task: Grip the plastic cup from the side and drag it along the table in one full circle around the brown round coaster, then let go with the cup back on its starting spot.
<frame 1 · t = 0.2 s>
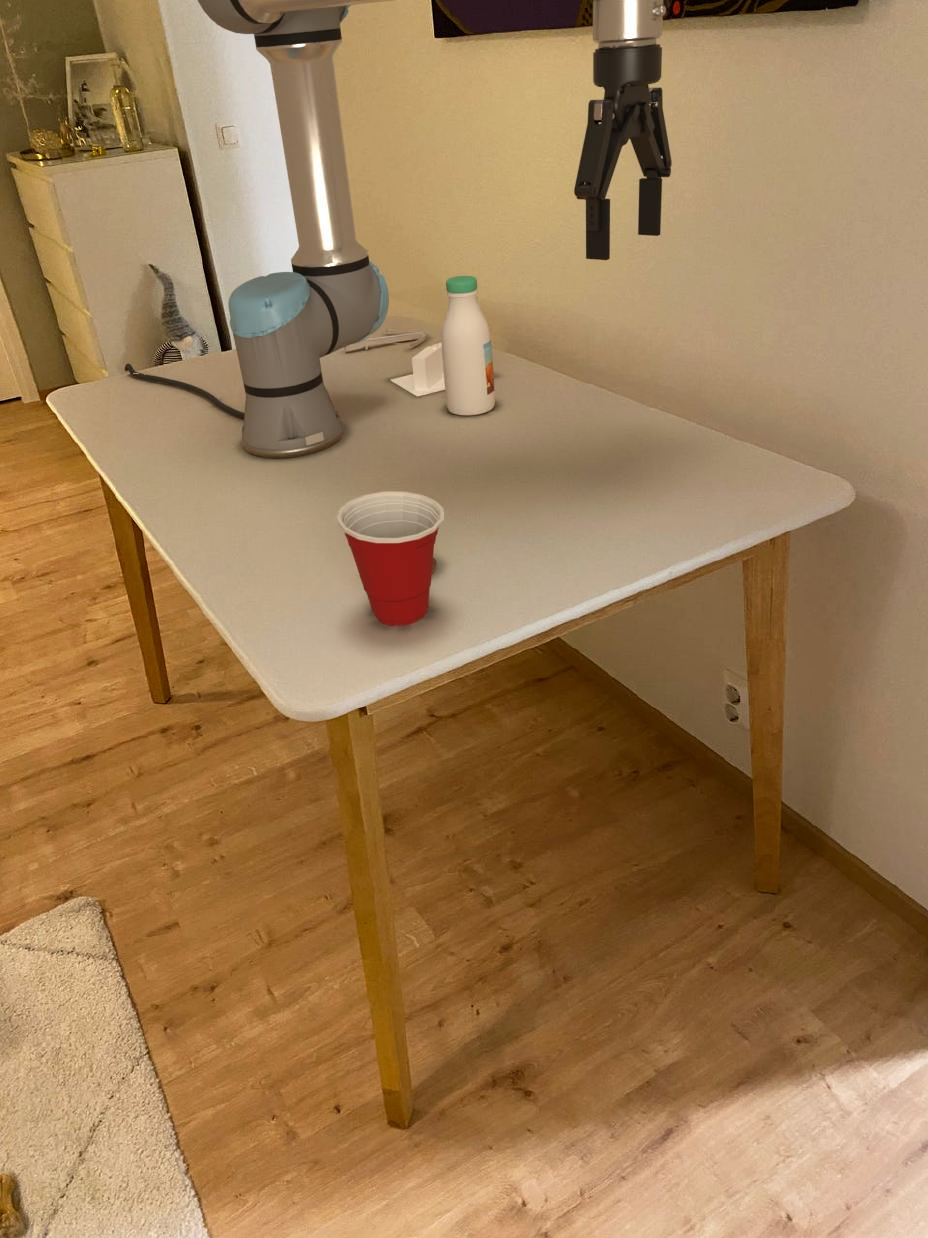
hand: (624, 246, 119), 28 cm above the table, tool pointing down, fingers open, 13 cm apart
napkin holder: (441, 379, 169), on the table
milk bottle: (471, 409, 156), on the table
plastic cup: (403, 613, 104), on the table
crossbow: (385, 346, 188), on the table
brown round coaster: (414, 568, 112), on the table
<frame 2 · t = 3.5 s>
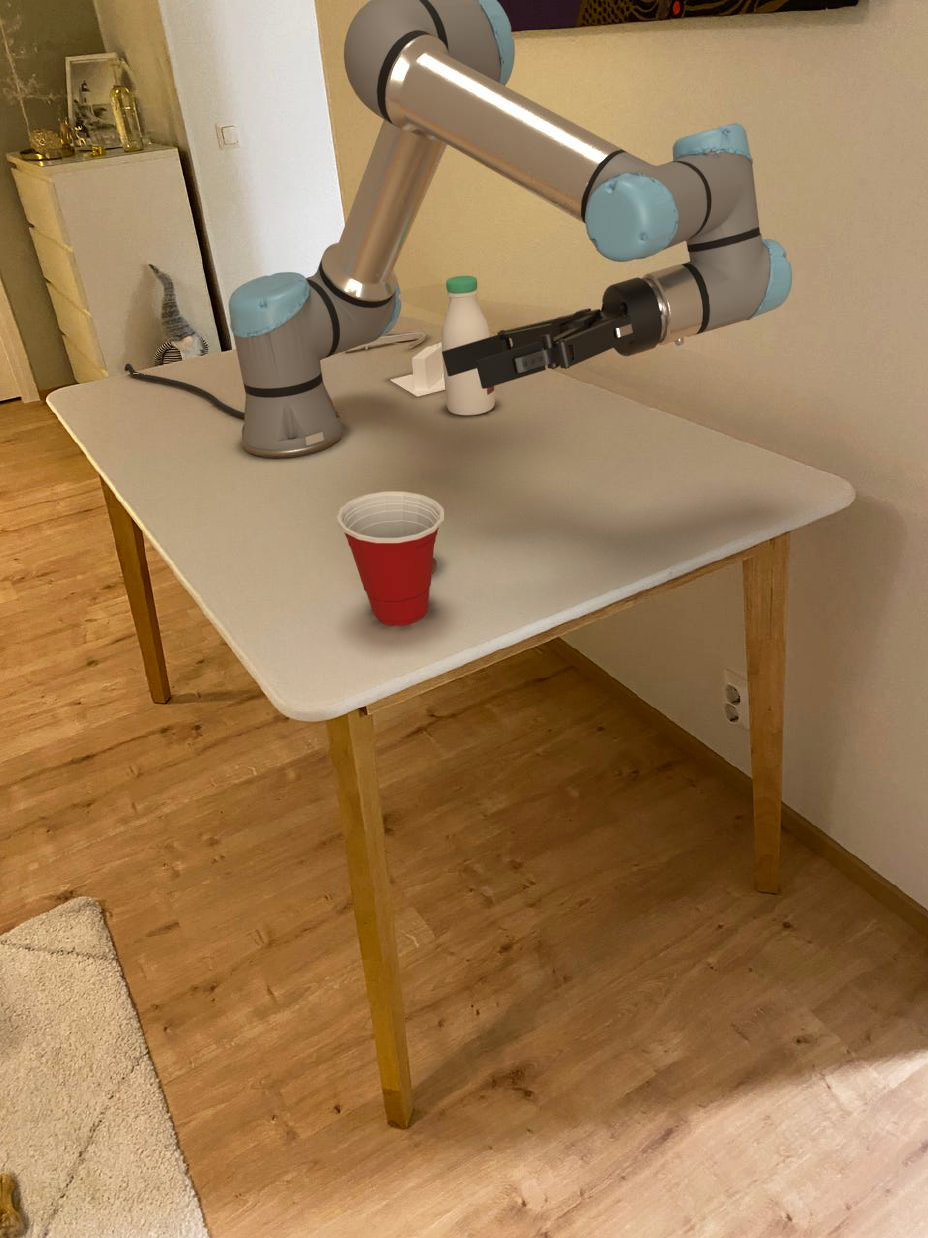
hand: (461, 369, 100), 23 cm above the table, tool horizontal, fingers open, 13 cm apart
nothing on the table moved.
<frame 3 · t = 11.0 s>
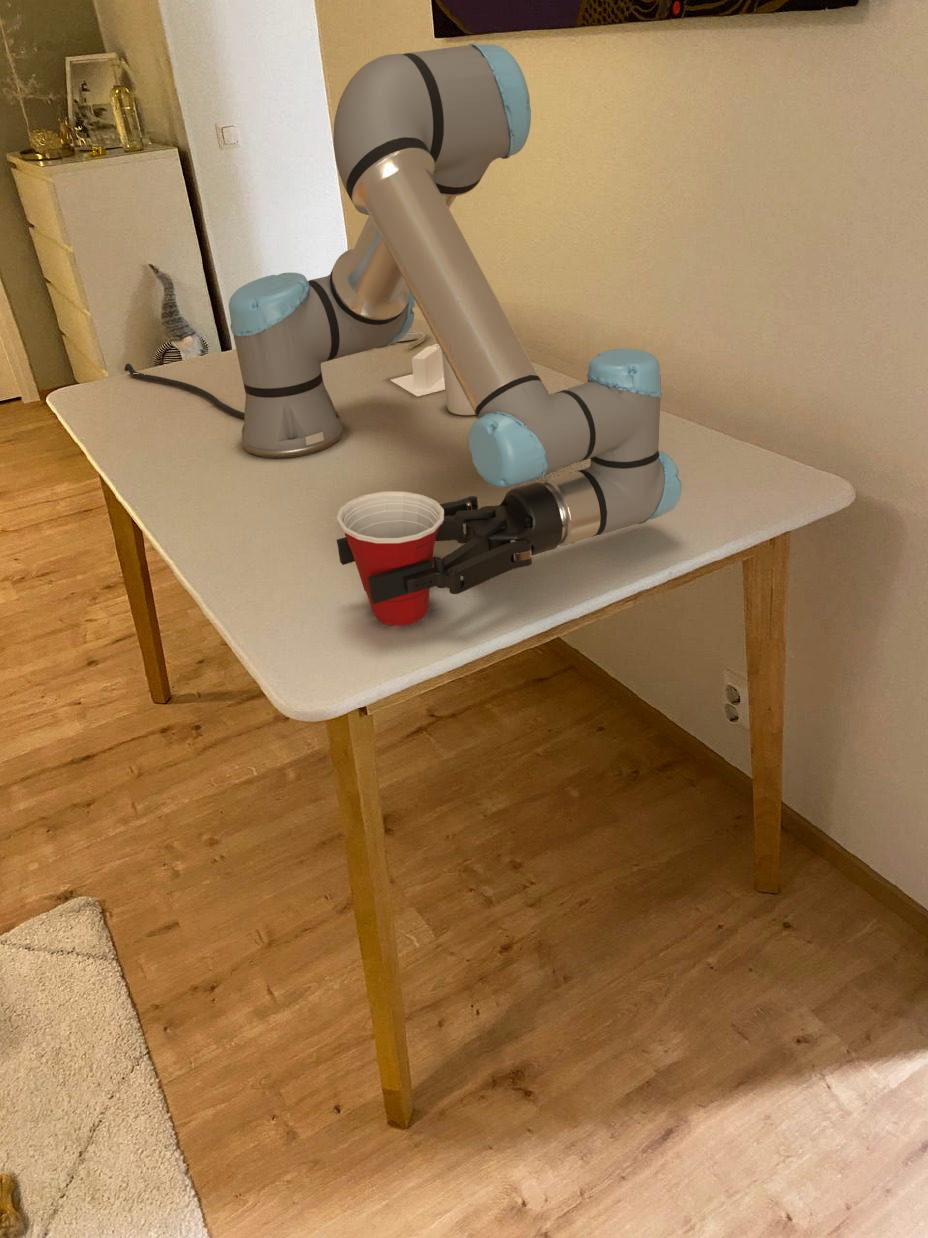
hand: (354, 570, 99), 6 cm above the table, tool horizontal, fingers closed on plastic cup, 9 cm apart
plastic cup: (403, 613, 104), on the table, touching gripper
everything else where it was.
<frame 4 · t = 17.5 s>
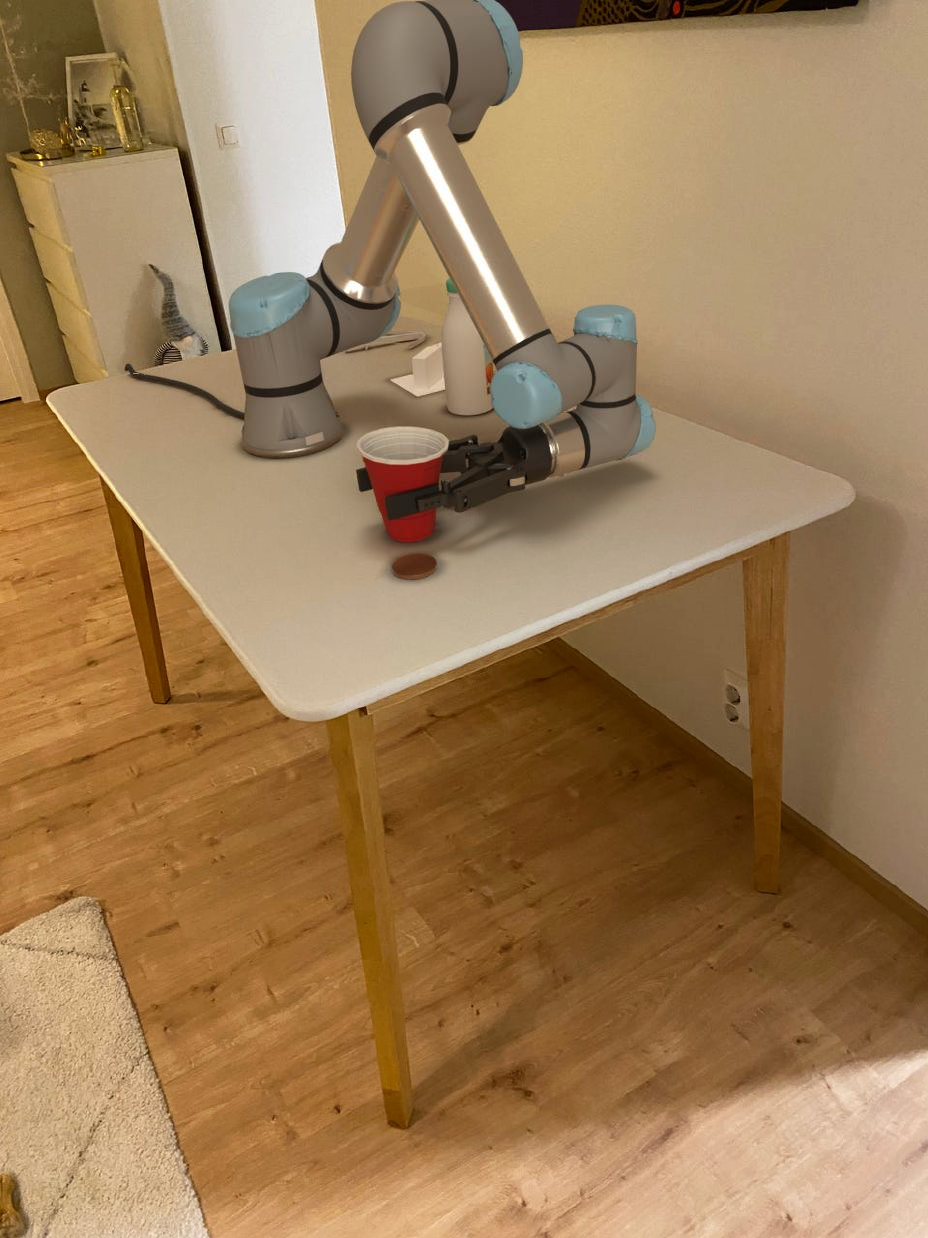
hand: (372, 494, 115), 6 cm above the table, tool horizontal, fingers closed on plastic cup, 9 cm apart
plastic cup: (413, 533, 120), on the table, touching gripper
everything else where it was.
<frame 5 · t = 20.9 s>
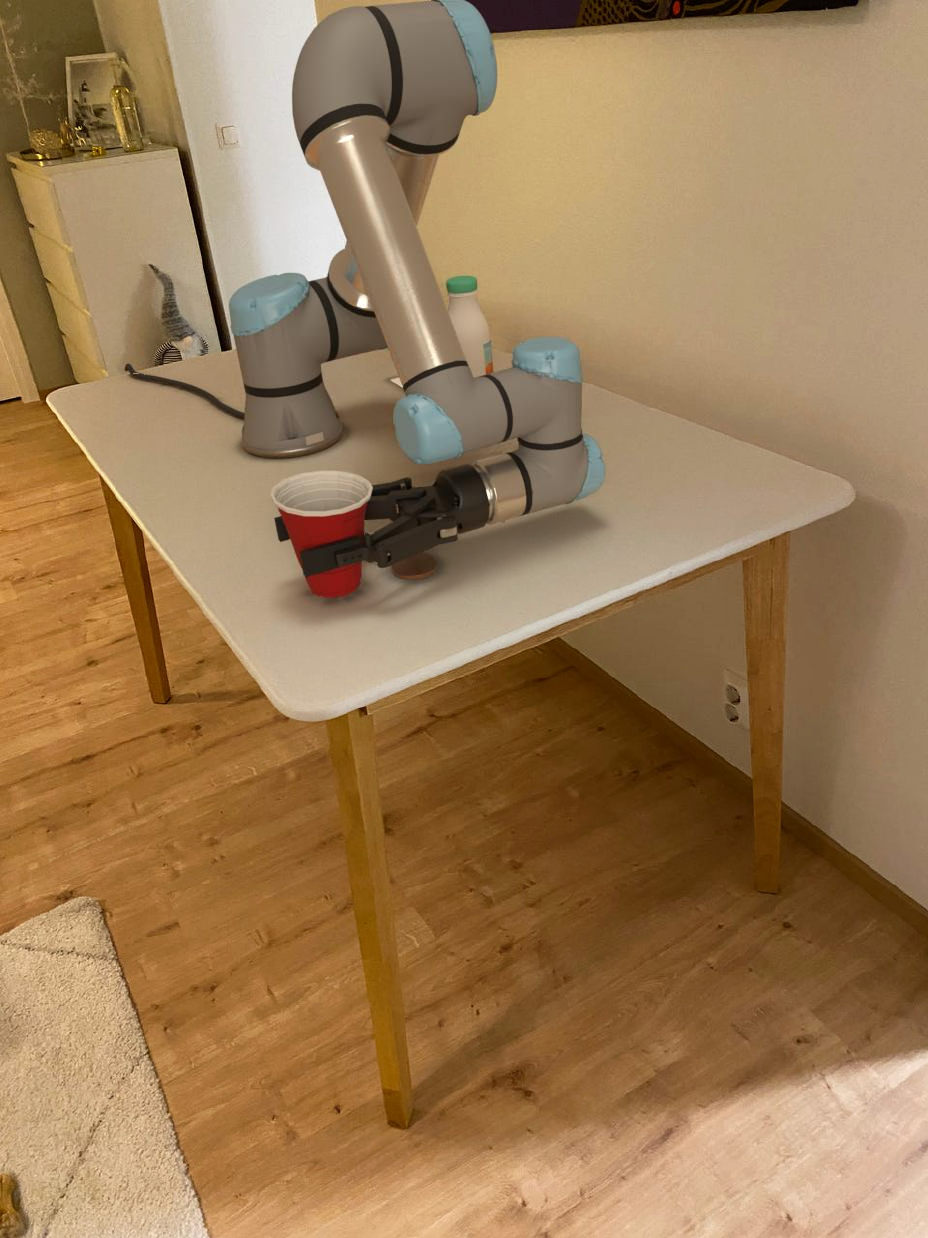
hand: (289, 546, 105), 7 cm above the table, tool horizontal, fingers closed on plastic cup, 9 cm apart
plastic cup: (337, 587, 110), on the table, touching gripper
everything else where it was.
when the fingers open (6 cm above the table, at t = 24.0 s): plastic cup stays where it is, on the table.
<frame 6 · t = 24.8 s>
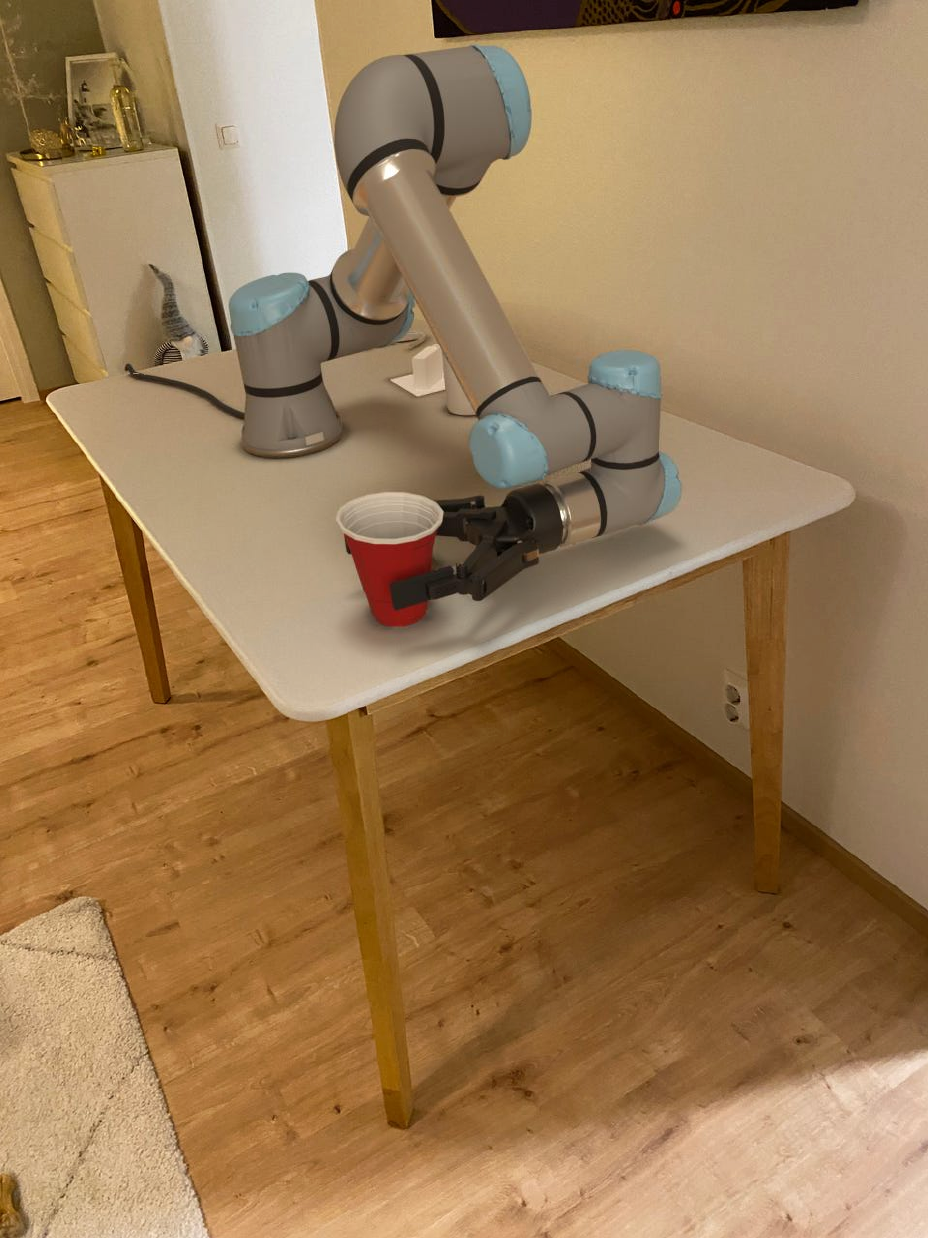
hand: (367, 568, 100), 6 cm above the table, tool horizontal, fingers open, 13 cm apart
plastic cup: (402, 614, 104), on the table
everything else where it was.
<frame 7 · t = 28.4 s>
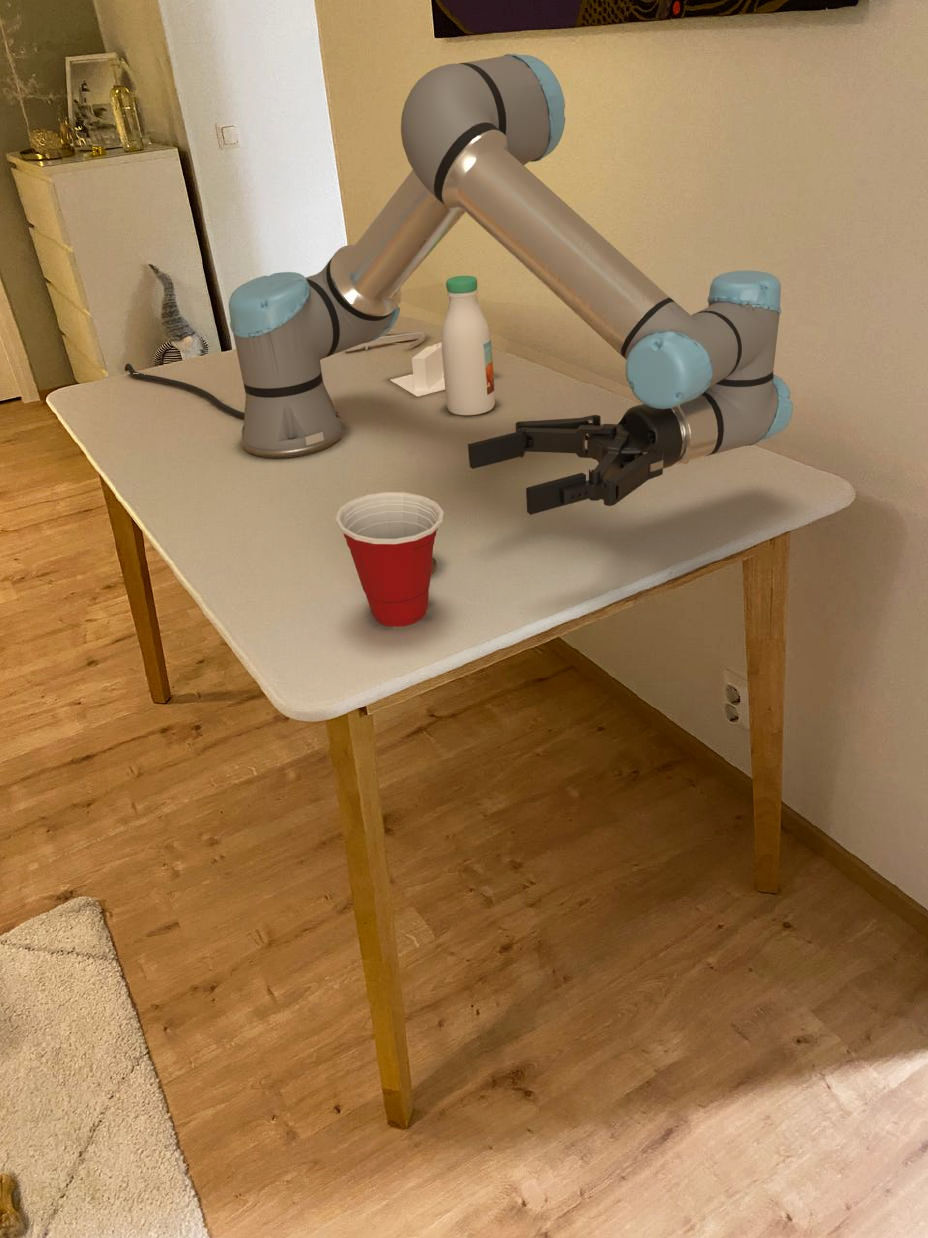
hand: (497, 477, 103), 12 cm above the table, tool horizontal, fingers open, 13 cm apart
nothing on the table moved.
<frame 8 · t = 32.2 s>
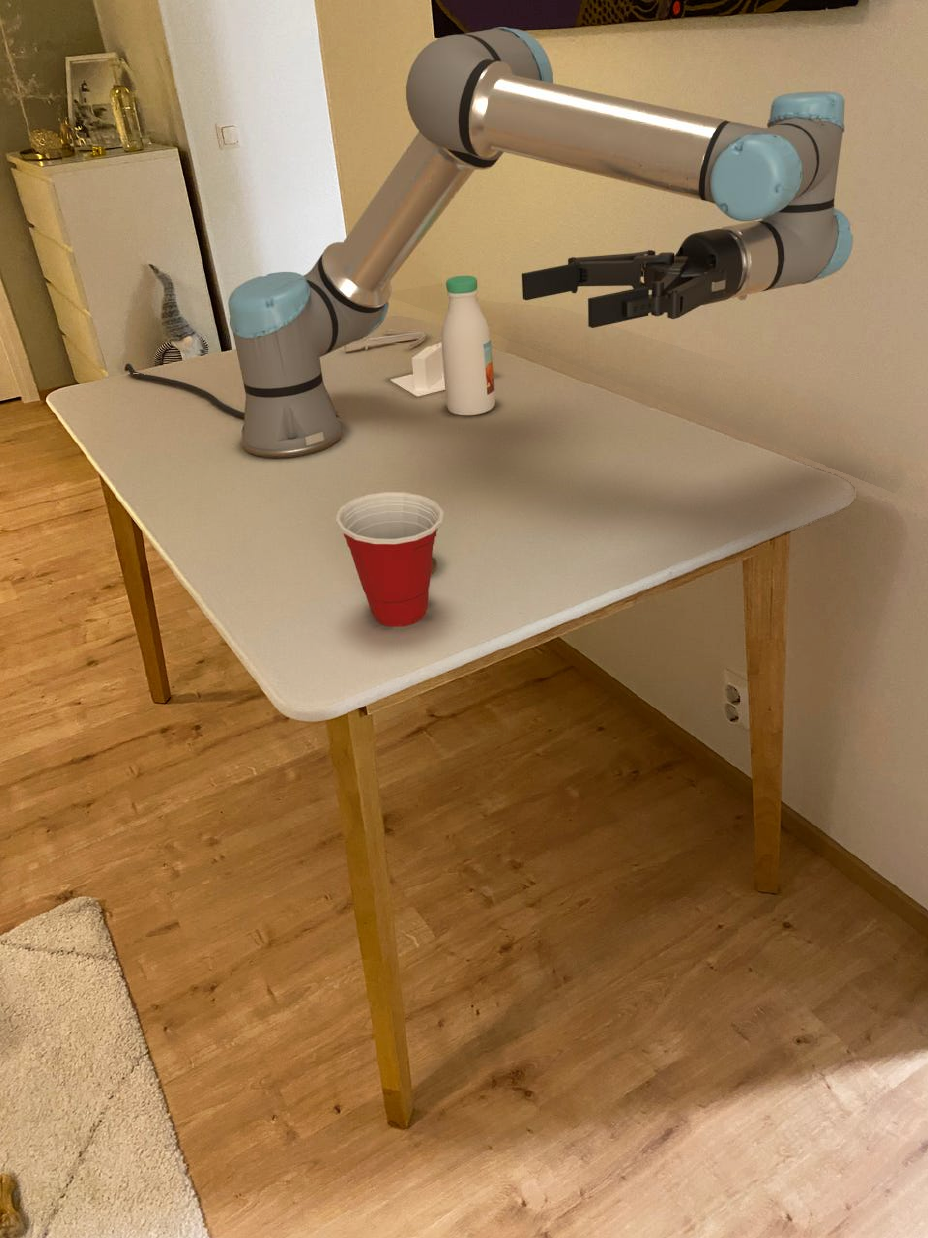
hand: (554, 299, 100), 28 cm above the table, tool horizontal, fingers open, 13 cm apart
nothing on the table moved.
at the end: plastic cup moved 0.3 cm from its start; plastic cup tilted 0°; the gripper is holding nothing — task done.
